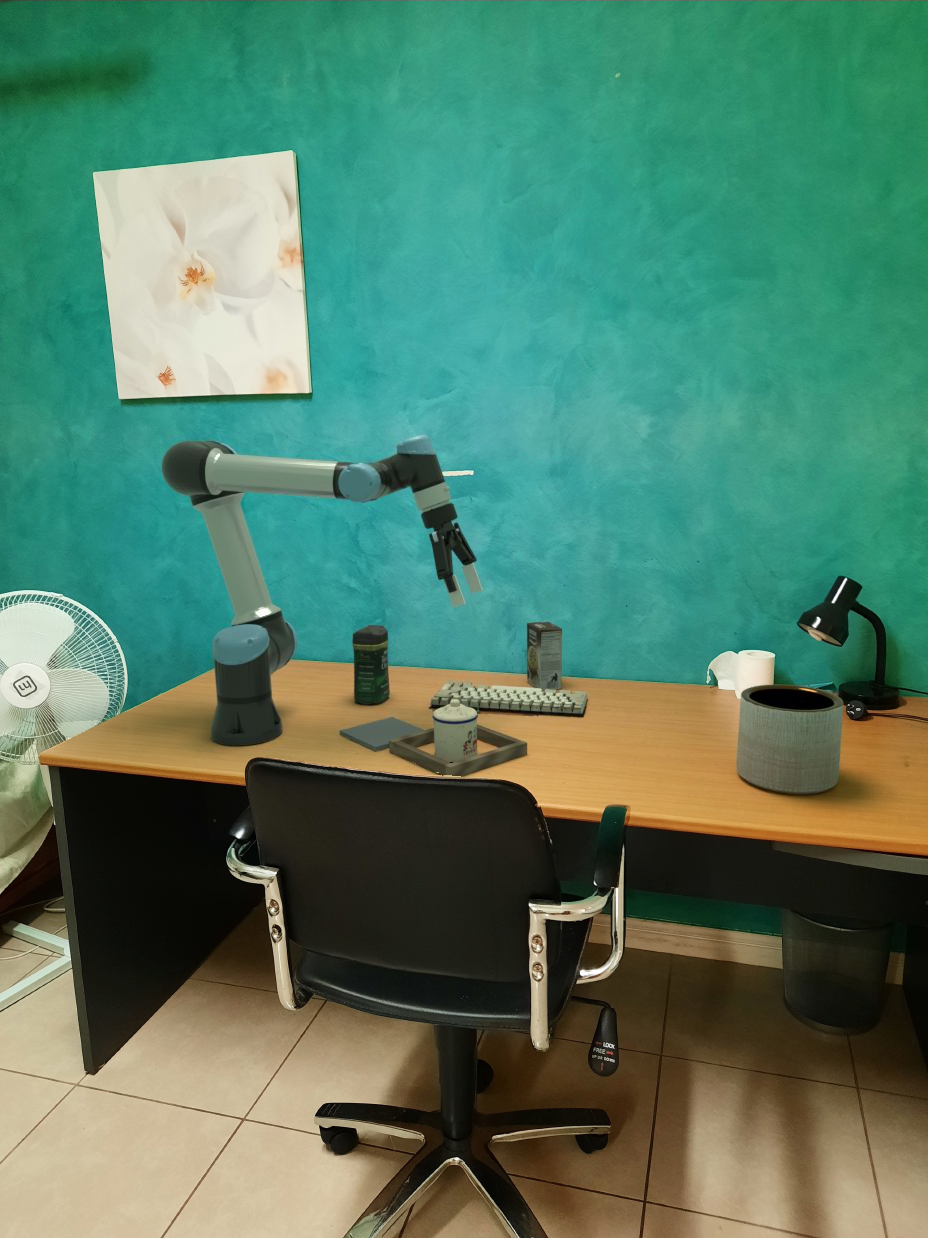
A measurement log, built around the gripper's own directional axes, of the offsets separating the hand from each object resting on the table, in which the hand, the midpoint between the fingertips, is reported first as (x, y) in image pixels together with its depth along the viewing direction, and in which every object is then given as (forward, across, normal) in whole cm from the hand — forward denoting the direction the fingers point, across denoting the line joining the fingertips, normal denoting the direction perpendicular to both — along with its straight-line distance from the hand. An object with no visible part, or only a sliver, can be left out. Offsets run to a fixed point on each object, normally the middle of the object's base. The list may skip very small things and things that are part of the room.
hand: (468, 598), depth 185 cm
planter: (+48, -18, -54) cm, 74 cm away
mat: (+21, -15, +24) cm, 35 cm away
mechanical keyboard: (+30, +15, +5) cm, 34 cm away
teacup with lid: (+27, -21, +6) cm, 35 cm away
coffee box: (+32, +32, 0) cm, 45 cm away
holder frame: (+27, -21, +6) cm, 35 cm away
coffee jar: (+18, +9, +36) cm, 42 cm away
